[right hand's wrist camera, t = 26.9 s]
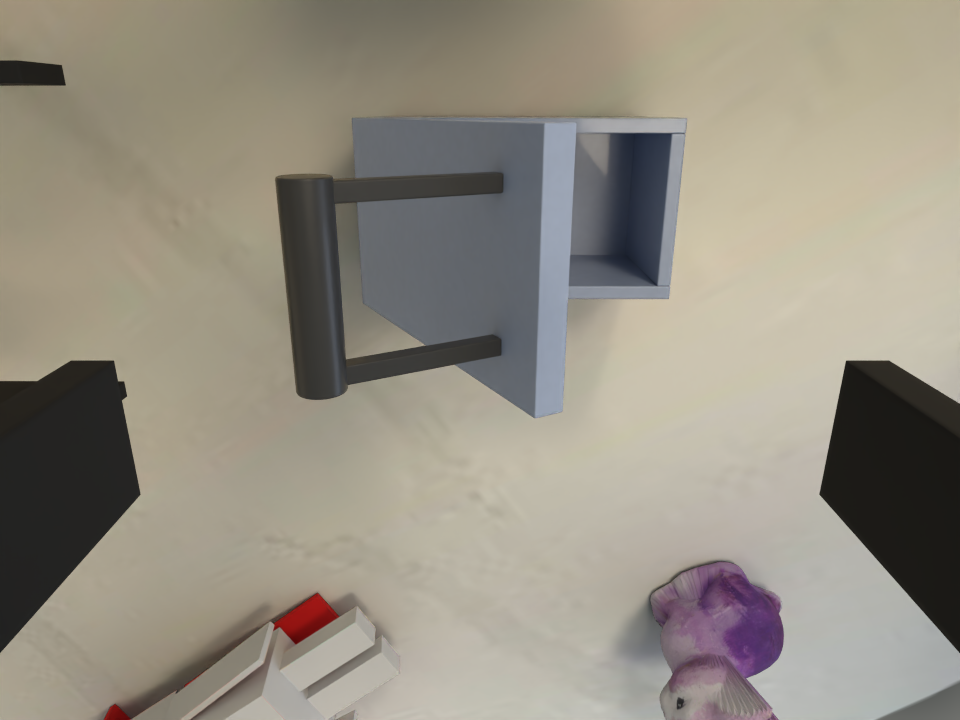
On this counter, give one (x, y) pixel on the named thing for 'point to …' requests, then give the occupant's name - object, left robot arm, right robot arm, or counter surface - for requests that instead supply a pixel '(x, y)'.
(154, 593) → the counter surface
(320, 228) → the lid
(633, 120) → the chest
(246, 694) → the toy
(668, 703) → the figurine
